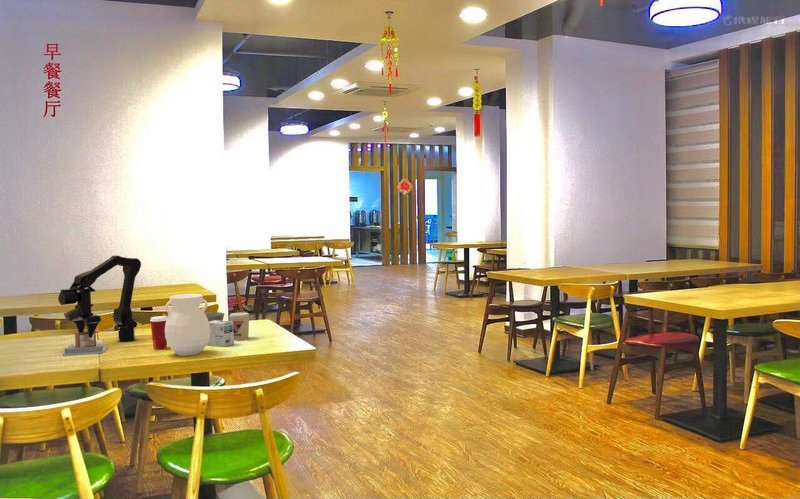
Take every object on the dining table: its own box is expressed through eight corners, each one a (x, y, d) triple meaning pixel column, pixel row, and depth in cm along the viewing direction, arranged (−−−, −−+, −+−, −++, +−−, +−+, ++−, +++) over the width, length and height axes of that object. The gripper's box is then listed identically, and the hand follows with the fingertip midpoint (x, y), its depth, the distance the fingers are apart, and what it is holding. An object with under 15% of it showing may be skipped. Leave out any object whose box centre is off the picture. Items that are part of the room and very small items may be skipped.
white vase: (167, 360, 278) (165, 299, 276) (163, 352, 295) (161, 294, 293) (214, 355, 285) (212, 296, 284) (208, 347, 302) (206, 291, 301)
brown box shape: (93, 346, 312) (92, 330, 312) (96, 346, 310) (95, 331, 310) (75, 348, 306) (74, 333, 306) (78, 349, 304) (78, 334, 304)
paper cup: (172, 347, 305) (171, 316, 305) (161, 350, 298) (160, 318, 297) (158, 346, 308) (157, 315, 307) (146, 349, 301) (145, 318, 300)
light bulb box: (234, 344, 309) (233, 320, 309) (224, 347, 303) (224, 323, 303) (215, 342, 314) (215, 319, 313) (206, 345, 308) (205, 321, 307)
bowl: (234, 332, 342) (233, 312, 341) (202, 339, 324) (201, 318, 324) (205, 329, 353) (205, 310, 352) (173, 335, 335) (172, 315, 335)
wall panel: (107, 348, 305) (107, 337, 305) (103, 353, 294) (102, 342, 294) (68, 351, 301) (68, 340, 301) (63, 355, 290) (62, 344, 290)
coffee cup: (225, 340, 320) (224, 314, 319) (237, 336, 328) (236, 312, 328) (242, 341, 316) (241, 315, 316) (254, 337, 325) (253, 312, 324)
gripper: (56, 303, 307) (58, 337, 308) (75, 306, 295) (77, 341, 296) (81, 300, 316) (83, 333, 316) (100, 303, 304) (102, 337, 304)
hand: (85, 336), depth 308 cm, fingers open, 9 cm apart
